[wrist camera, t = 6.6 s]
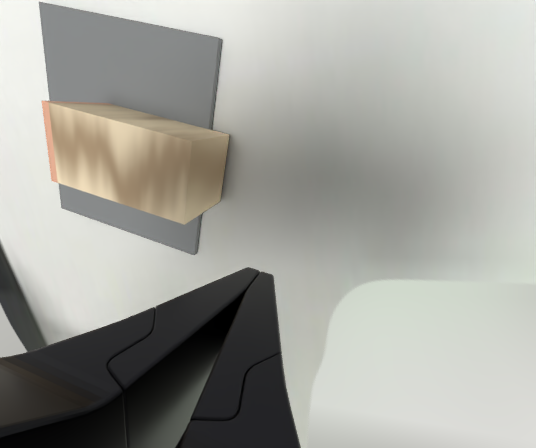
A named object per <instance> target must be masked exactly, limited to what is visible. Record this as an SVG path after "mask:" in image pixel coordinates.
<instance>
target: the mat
mask: <svg viewBox="0 0 536 448" xmlns="http://www.w3.org/2000/svg"><path fill="white" fill-rule="evenodd" d="M39 8H40V17H41V26H42V35H43V44H44V54H45V63H46V72H47V81H48V90H49V99H50V101H63V102H89V103H109V104H113V105H117V106H121V107H124V108H128V109H132V110H136V111H140V112H144V113H148V114H151V115H155V116H159V117H163V118H167V119H171V120H175V121H178V122H182V123H186V124H190V125H194V126H198V127H202V128H205V129H209V130H212V122H213V114H214V105H215V97H216V89H217V80H218V72H219V63H220V55H221V46H222V39H220V38H217V37H212V36H207V35H202V34H197V33H192V32H188V31H183V30H178V29H173V28H168V27H163V26H158V25H153V24H148V23H143V22H138V21H133V20H128V19H123V18H118V17H113V16H108V15H103V14H98V13H93V12H88V11H83V10H78V9H73V8H68V7H63V6H58V5H53V4H48V3H43V2H39ZM59 190H60V199H61V208H63V209H66V210H68V211H71V212H74V213H77V214H80V215H82V216H85V217H88V218H91V219H94V220H97V221H99V222H102V223H105V224H108V225H111V226H113V227H116V228H119V229H122V230H125V231H127V232H130V233H133V234H136V235H139V236H141V237H144V238H147V239H150V240H153V241H156V242H158V243H161V244H164V245H167V246H170V247H172V248H175V249H178V250H181V251H184V252H186V253H189V254H192V255H195V254H196V253H197V249H198V241H199V232H200V224H201V215H202V214H200V215H199V216H197V217H196V218H194V219H193V220H191V221H190V222H188V223H187V224H185V225H184V224H181V223H178V222H174V221H171V220H168V219H165V218H162V217H159V216H156V215H153V214H150V213H147V212H144V211H141V210H138V209H135V208H132V207H129V206H126V205H123V204H120V203H117V202H114V201H111V200H108V199H105V198H102V197H99V196H96V195H93V194H90V193H87V192H84V191H81V190H78V189H75V188H72V187H69V186H66V185H63V184H60V183H59Z"/></svg>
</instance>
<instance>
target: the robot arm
mask: <svg viewBox="0 0 536 448" xmlns="http://www.w3.org/2000/svg"><path fill="white" fill-rule="evenodd" d="M281 354H282V352H281V343H280V333H279V324H278V314H277V305H276V295H275V285H274V277H273V275H272V274H268V273H265V272H260V271H259V270H256V269H252V268H249V267H247V268H245V269H242V270H240V271H238V272H235V273H233V274H230V275H228V276H226V277H223V278H221V279H219V280H216V281H214V282H212V283H209V284H207V285H205V286H202V287H200V288H198V289H195V290H193V291H191V292H188V293H186V294H184V295H181V296H179V297H177V298H174V299H172V300H169V301H167V302H165V303H162V304H160V305H158V306H156V308H154V307H153V308H150V309H148V310H146V311H143V312H141V313H139V314H136V315H134V316H131V317H129V318H126V319H124V320H121V321H118V322H116V323H113V324H110V325H107V326H104V327H101V328H99V329H96V330H93V331H90V332H87V333H84V334H81V335H78V336H75V337H72V338H69V339H66V340H63V341H60V342H57V343H54V344H51V345H48V346H45V347H42V348H39V349H36V350H33V351H30V352H26V353H23V354H19V355H14V356H9V357H2V358H0V448H301V447H300V443H299V439H298V435H297V431H296V427H295V423H294V419H293V415H292V411H291V407H290V402H289V398H288V393H287V389H286V383H285V376H284V369H283V360H282V355H281Z"/></svg>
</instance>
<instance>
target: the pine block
mask: <svg viewBox="0 0 536 448" xmlns="http://www.w3.org/2000/svg"><path fill="white" fill-rule="evenodd" d="M42 107H43V115H44V123H45V131H46V139H47V147H48V155H49V163H50V171H51V179H52V181H54V182H57V183H60V184H63V185H66V186H69V187H72V188H75V189H78V190H81V191H84V192H87V193H90V194H93V195H96V196H99V197H102V198H105V199H108V200H111V201H114V202H117V203H120V204H123V205H126V206H129V207H132V208H135V209H138V210H141V211H144V212H147V213H150V214H153V215H156V216H159V217H162V218H165V219H168V220H171V221H174V222H178V223H181V224H184V225H185V224H187V223H188V222H190V221H191V220H193V219H194V218H196V217H197V216H199V215H200V214H202V213H203V212H205V211H206V210H208V209H210V208H211V207H213V206H214V205H216V204H217V203H219V202H220V199H221V192H222V185H223V178H224V171H225V163H226V156H227V149H228V142H229V134H225V133H221V132H217V131H213V130H209V129H205V128H202V127H198V126H194V125H190V124H186V123H182V122H178V121H175V120H171V119H167V118H163V117H159V116H155V115H151V114H148V113H144V112H140V111H136V110H132V109H128V108H124V107H121V106H117V105H113V104H109V103H89V102H63V101H42Z"/></svg>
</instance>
